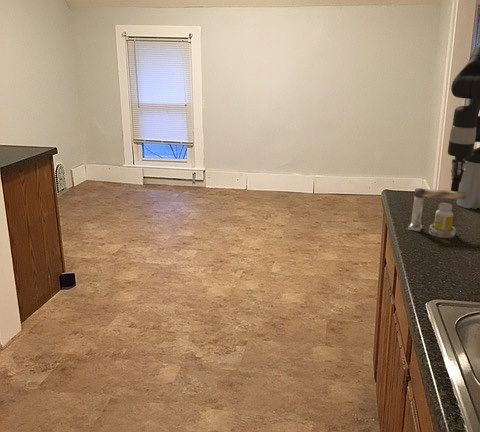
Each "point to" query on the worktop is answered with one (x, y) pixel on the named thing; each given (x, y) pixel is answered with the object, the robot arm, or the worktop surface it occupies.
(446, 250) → the worktop surface
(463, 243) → the worktop surface
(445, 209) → the supplement bottle
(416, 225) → the frame
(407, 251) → the worktop surface
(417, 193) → the bar
